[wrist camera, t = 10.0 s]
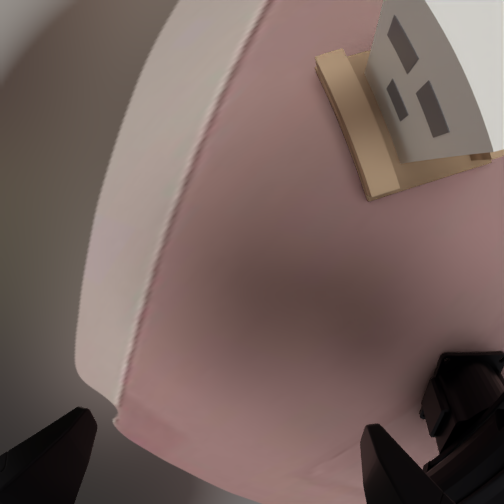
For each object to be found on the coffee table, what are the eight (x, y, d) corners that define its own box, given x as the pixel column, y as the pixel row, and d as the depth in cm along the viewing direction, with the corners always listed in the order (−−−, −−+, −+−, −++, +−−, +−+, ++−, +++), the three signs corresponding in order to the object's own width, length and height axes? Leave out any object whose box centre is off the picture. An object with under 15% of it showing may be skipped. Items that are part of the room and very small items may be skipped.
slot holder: (486, 162, 16) (513, 162, 12) (367, 200, 19) (375, 206, 15) (436, 39, 15) (453, 17, 11) (315, 70, 17) (311, 49, 14)
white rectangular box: (452, 148, 16) (576, 129, 4) (399, 163, 17) (492, 152, 6) (416, 60, 15) (488, -44, 4) (363, 73, 16) (391, -44, 5)
